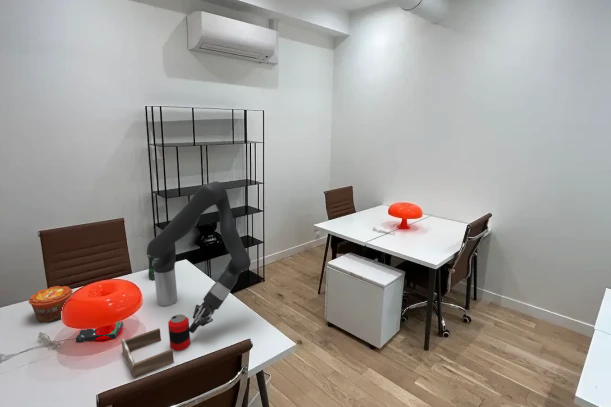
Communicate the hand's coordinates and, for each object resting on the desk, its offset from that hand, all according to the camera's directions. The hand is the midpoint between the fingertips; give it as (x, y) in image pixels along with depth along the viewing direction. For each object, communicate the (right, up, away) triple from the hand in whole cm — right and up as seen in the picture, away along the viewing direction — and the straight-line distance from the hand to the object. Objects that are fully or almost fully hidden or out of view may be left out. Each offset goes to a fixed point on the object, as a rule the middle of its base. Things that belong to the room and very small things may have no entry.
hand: (190, 331), depth 140 cm
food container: (-68, +1, +18) cm, 70 cm away
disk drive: (-39, -3, +5) cm, 40 cm away
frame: (-13, -6, -9) cm, 17 cm away
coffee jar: (-37, +10, +56) cm, 68 cm away
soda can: (-3, -5, -2) cm, 6 cm away
